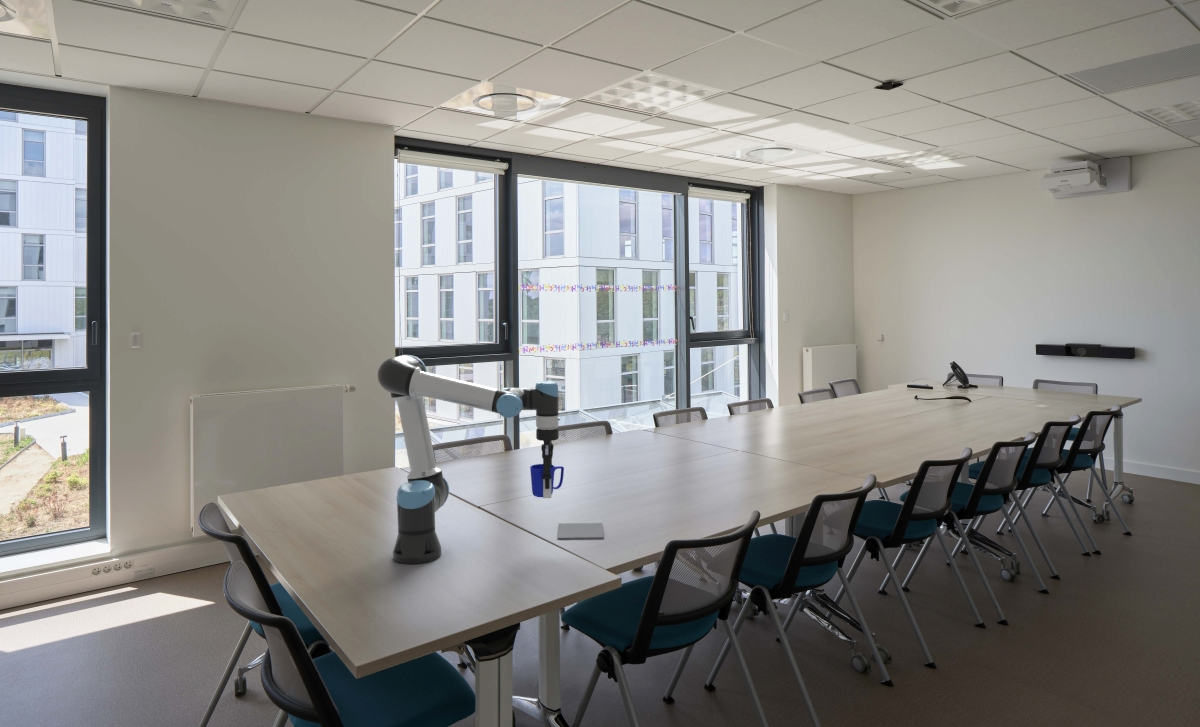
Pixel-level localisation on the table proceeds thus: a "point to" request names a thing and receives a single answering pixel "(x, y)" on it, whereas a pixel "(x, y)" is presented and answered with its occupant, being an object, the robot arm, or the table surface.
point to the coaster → (580, 531)
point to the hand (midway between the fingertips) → (547, 494)
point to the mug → (538, 482)
